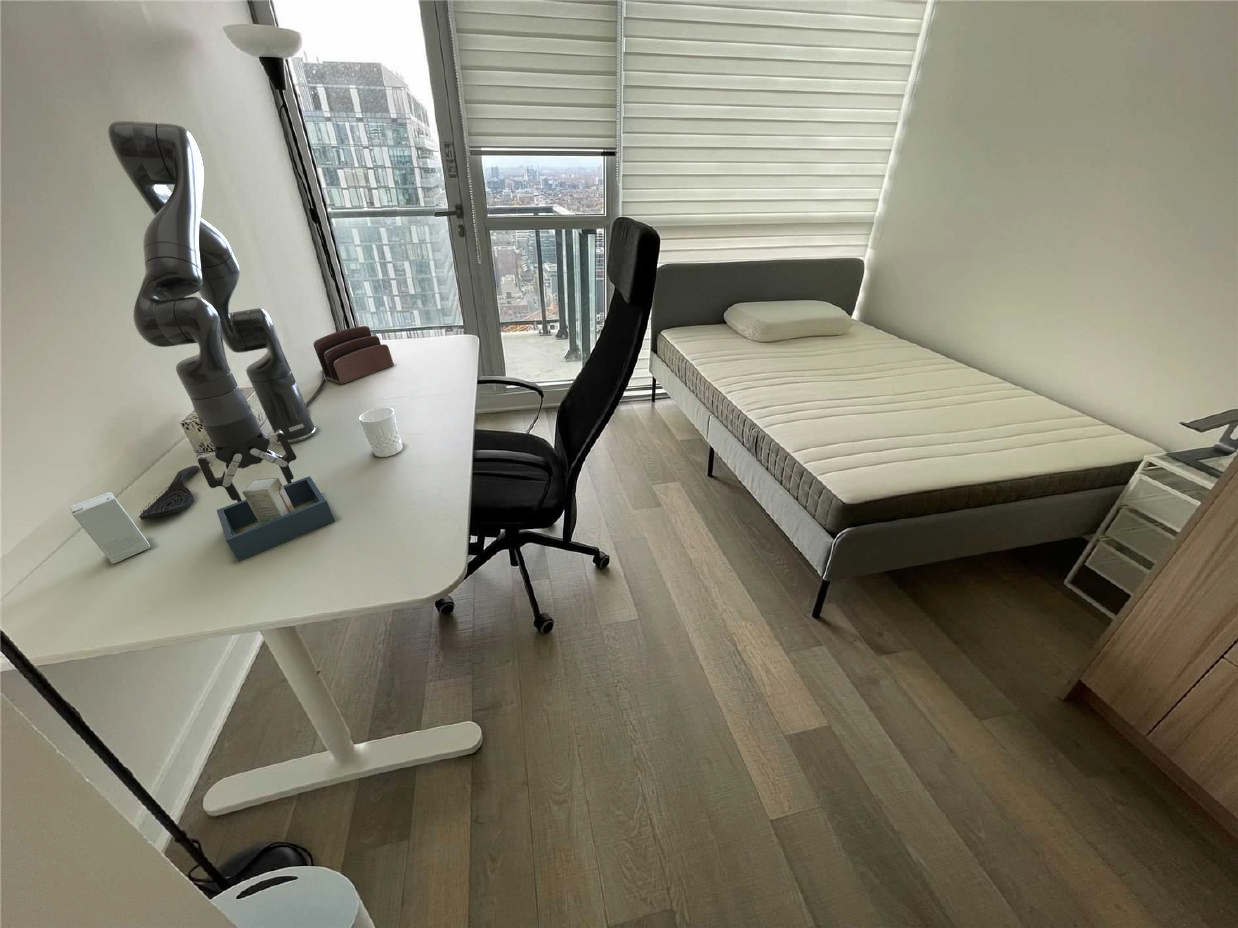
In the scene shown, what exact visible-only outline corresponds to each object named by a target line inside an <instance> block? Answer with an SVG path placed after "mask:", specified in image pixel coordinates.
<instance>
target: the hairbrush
mask: <svg viewBox="0 0 1238 928" xmlns="http://www.w3.org/2000/svg"><path fill="white" fill-rule="evenodd" d="M199 470H200V467H199V466H198V465H190V466H188V467H185V468H183V469H181V470H179V471H178V472H176V474H175V476H174V479H173V480H172V481H171V483H170V485H169V486H166V488H164V490H165V491H164V492H162V490H161V491H160V493H162V494H158V496H157V498H156V497H154V498H153V500H154V501H153V502H151V501H149V503H147V505H146V506H144V508H145V509H142V511H141V510H140V515H139V516H138V518H139V519H140V521H144V520H147V519H153V518H158V517H161V516H166V515H169V514H173V513H177V512H180V511H182V510H186V509H188V508H189V507H190V506H191V505H192V504H193V503H194V501H195V499H194V495H193V493H192V491H191V490H190V489H189V487H187V485H186V484H185V482H186V481H187V479H188V478H189V477H190V476H191V475H193V474H194V473H196V472H197V471H199ZM155 498H156V499H155ZM151 503H152V504H151Z"/></svg>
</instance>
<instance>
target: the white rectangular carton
mask: <svg viewBox="0 0 1238 928" xmlns="http://www.w3.org/2000/svg"><path fill="white" fill-rule="evenodd" d="M283 486H284V485H283V483H282V481H281V480H280V478H279V477H268V478H258V479H253V480H252V481H251V482H250V483H249V484H248V485H247V486H246V487H244V488H243V490H241V493H242V495H243V496H244V498H245V499H246V500H247V502H248V504H249V506H250V507H251V509H252V511H253V513H254V514H255V516H256V518H257V520H258V521H257V522H258V524H259V525H261V524H263V523H266V522H268V521H271V520H273V519H276V518H278V517H281V516H284V515H286V514H289V513H291V512H294V511H296V509H295V506H294V507H293V505H292V503H291V501H290V499H289V497H288V495H287V493H286V491H285V490H284V488H283Z"/></svg>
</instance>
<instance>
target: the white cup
mask: <svg viewBox="0 0 1238 928" xmlns="http://www.w3.org/2000/svg"><path fill="white" fill-rule="evenodd" d="M358 420H359V423H360V425H361V427H362V430H363V433H364V435H365V438H366V439H367V442H368V444H369V445H370V448H371V450H372V452H373V454H374V456H375V457H378V458H387V457H391V456H395V455H396V454H398V453H400V452H401V451H402V450H403V442H402V439H401V433H400V428H399V425H398V421H397V417H396V413H395V410H394V408H392V407H385V406H383V407H376V408H372V409H369V410H366V411H364V412H363V413H361V414H360V415H359V417H358Z"/></svg>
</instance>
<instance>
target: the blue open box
mask: <svg viewBox="0 0 1238 928" xmlns="http://www.w3.org/2000/svg"><path fill="white" fill-rule="evenodd" d="M291 482H292V483H289V484H288V483H287V484H284V485H282V486H283V488H284V490H285V491H286V493H287V495H288V497H289V499H290V501H291V503H292V505H293V507H294V508H295V507H296V506H299V505H302V504H304V503H306V502H309V501H312V500H315V502H314V503H312V504H309V505H307V506H304V507H302V508H299V509H295V511H294V512H291V513H289V514H286V515H284V516H281V517H278V518H276V519H273V520H271V521H268V522H266V523H263V524H261V525H260V524H258V525H256V526H253V527H251V528H250V527H249V528H248V529H245V530H243V531H241V532H238V533H236V530H237V529H240V528H243V527H245V526H247V525H250V524H252V523H255V522H258V520H257V518H256V516H255V514H254V513H253V511H252V509H251V507H250V506H249V504H248V502H247V500H246V498H245V499H242V501H240V502H237V501H236V502H234V503H231V504H228V505H226V506H223V507H220V508H218V509H216V513H217V516H218V519H219V522H220V526H221V529H222V533H223V535H224V538H225V541H226V543H227V545H228V547H229V548H230V550H231V552H232V553H233V555H234V556H235V558H236V560H237V562H241V561H243V560H245V559H247V558H251V557H253V556H255V555H257V554H260V553H262V552H264V551H267V550H269V549H271V548H274V547H276V546H279V545H281V544H284V543H286V542H288V541H290V540H293V539H295V538H298V537H300V536H303V535H306V534H307V533H310V532H313V531H315V530H318V529H320V528H322V527H325V526H328V525H329V524H332V523H334V522H336V519H335V517H334V515H333V513H332V510H331V508H330V506H329V503H328V501H327V499H326V498H325V496H324V495H323V493H322V492H321V490H320V489H319V487H318V486H317V484H316V483H315V481H314V480H313V479H312V477H311V476H310V475H309V476H306V477H303V478H300V479H298V480H294V481H291Z"/></svg>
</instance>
